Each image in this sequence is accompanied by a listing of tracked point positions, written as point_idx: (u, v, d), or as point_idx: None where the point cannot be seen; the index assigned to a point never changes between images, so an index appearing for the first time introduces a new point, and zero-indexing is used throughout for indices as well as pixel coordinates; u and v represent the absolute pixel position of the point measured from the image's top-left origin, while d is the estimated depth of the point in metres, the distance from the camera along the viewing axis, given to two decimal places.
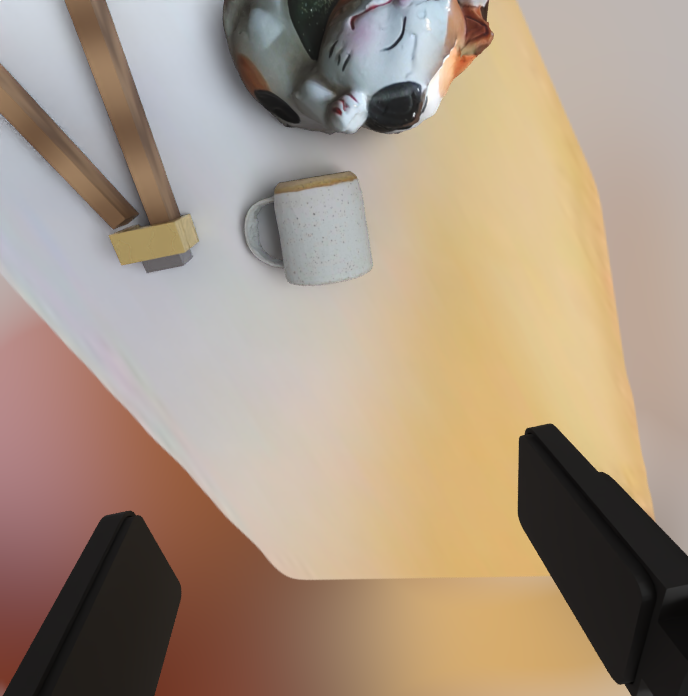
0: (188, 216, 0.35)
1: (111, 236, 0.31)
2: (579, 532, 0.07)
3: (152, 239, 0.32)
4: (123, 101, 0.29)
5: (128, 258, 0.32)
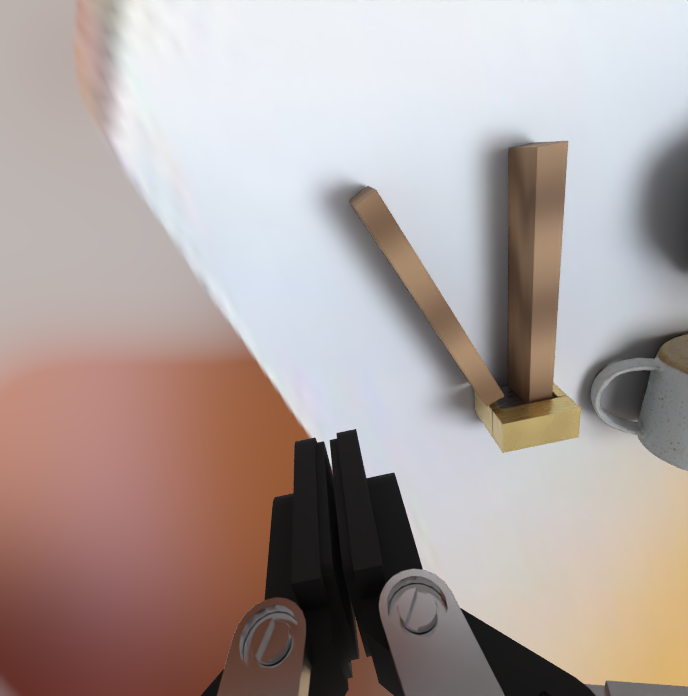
0: None
1: (505, 425, 0.26)
2: None
3: (548, 426, 0.26)
4: (556, 277, 0.24)
5: (513, 445, 0.27)
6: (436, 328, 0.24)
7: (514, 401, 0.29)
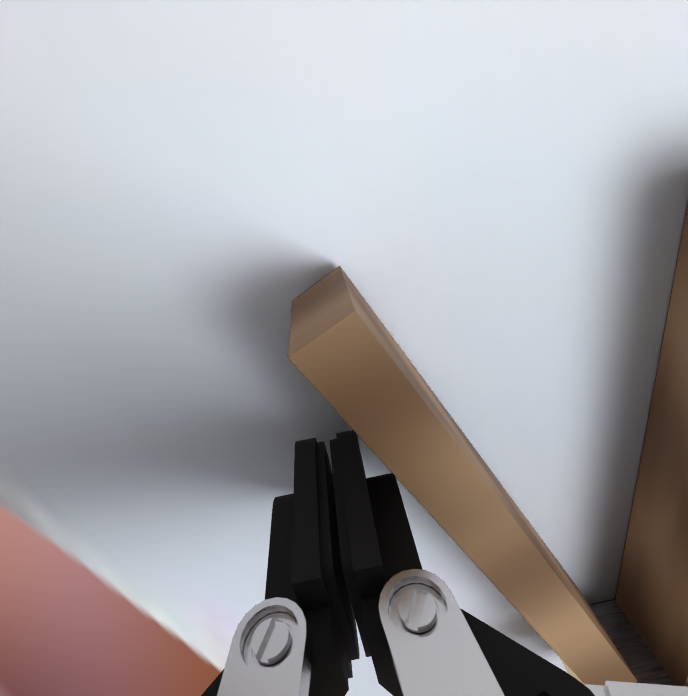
0: None
1: None
2: None
3: None
4: None
5: None
6: (508, 595, 0.10)
7: (642, 660, 0.15)
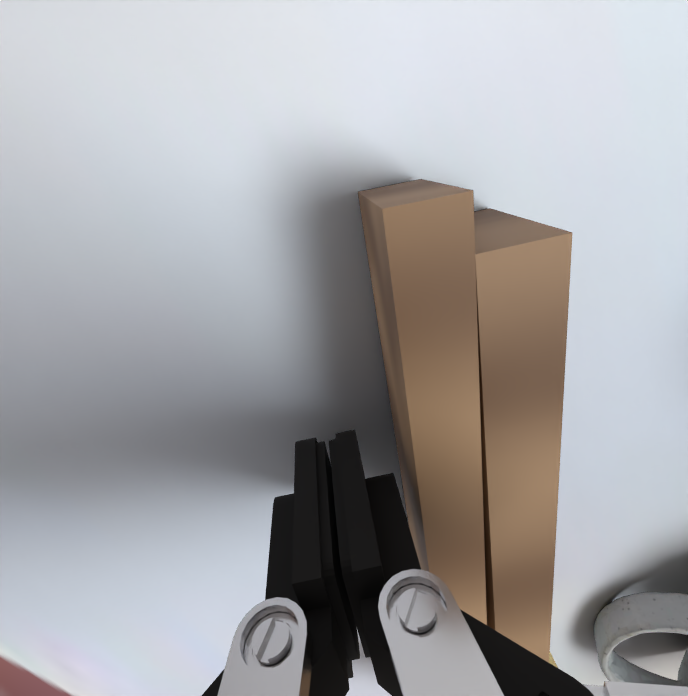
0: None
1: None
2: None
3: None
4: (547, 536, 0.10)
5: None
6: None
7: None
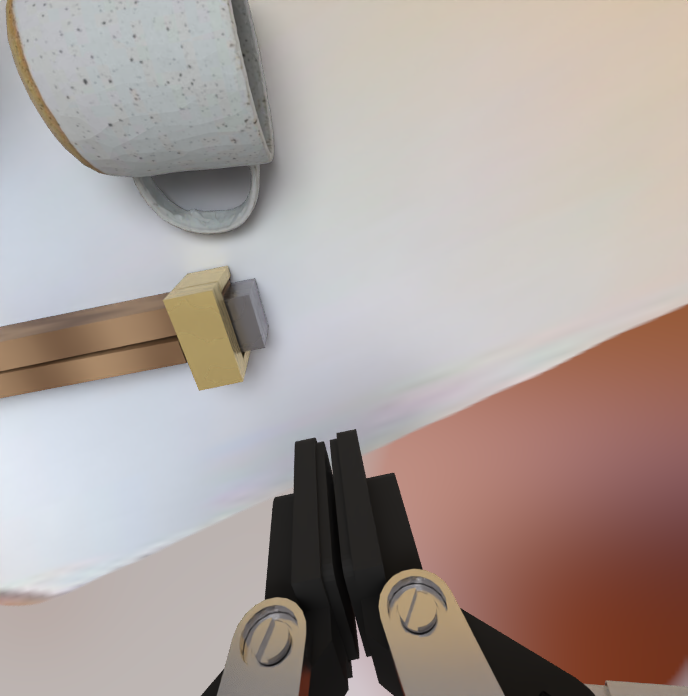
0: (186, 276, 0.23)
1: (200, 387, 0.21)
2: None
3: (197, 335, 0.20)
4: (21, 341, 0.21)
5: (231, 371, 0.21)
6: (57, 385, 0.22)
7: None
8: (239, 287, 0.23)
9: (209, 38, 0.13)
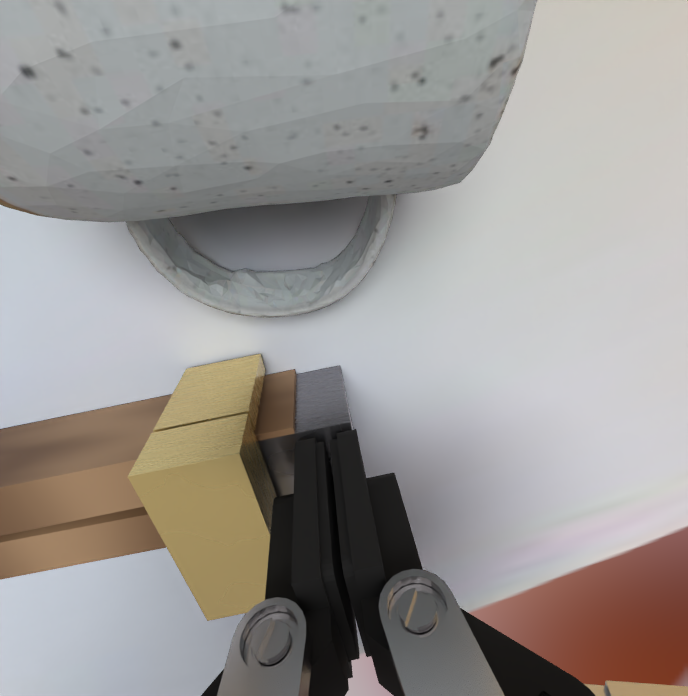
0: (184, 378, 0.12)
1: (210, 615, 0.11)
2: None
3: (205, 535, 0.09)
4: None
5: None
6: None
7: None
8: (319, 391, 0.12)
9: None
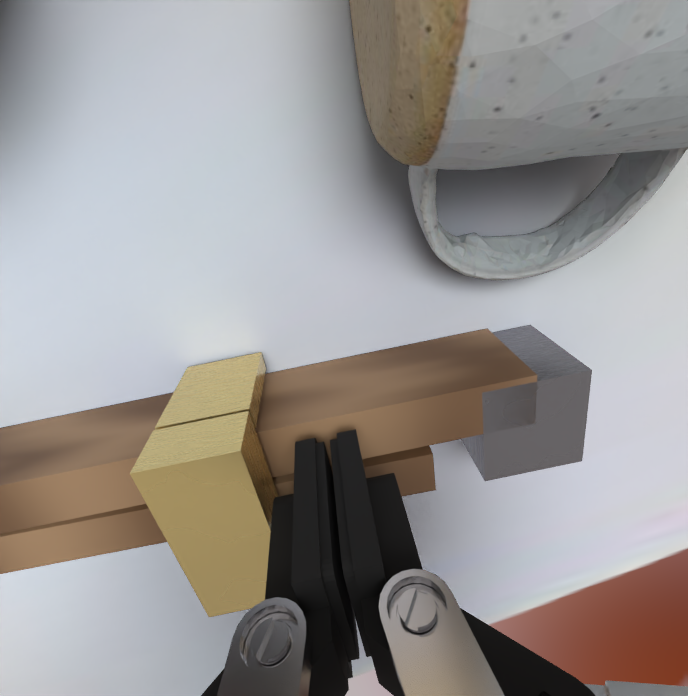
0: (185, 376, 0.12)
1: (211, 612, 0.11)
2: None
3: (207, 531, 0.09)
4: None
5: None
6: None
7: None
8: (529, 346, 0.12)
9: None
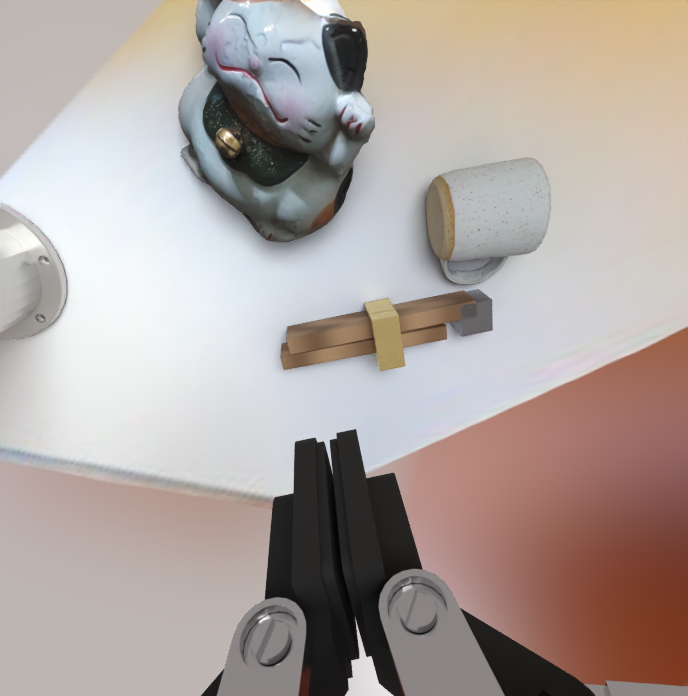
0: (366, 304, 0.39)
1: (381, 369, 0.37)
2: None
3: (385, 339, 0.36)
4: (363, 325, 0.37)
5: (399, 360, 0.37)
6: (373, 352, 0.39)
7: (457, 320, 0.39)
8: (476, 295, 0.39)
9: (539, 213, 0.30)
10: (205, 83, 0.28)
